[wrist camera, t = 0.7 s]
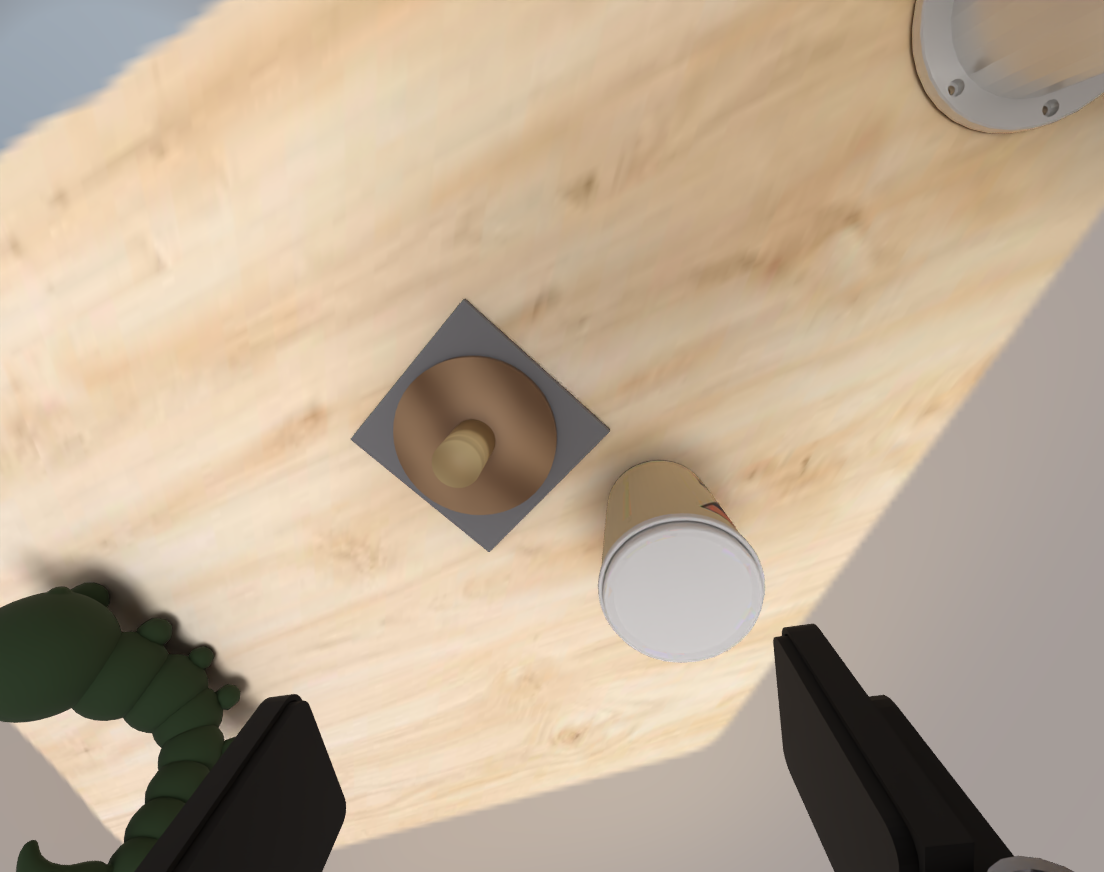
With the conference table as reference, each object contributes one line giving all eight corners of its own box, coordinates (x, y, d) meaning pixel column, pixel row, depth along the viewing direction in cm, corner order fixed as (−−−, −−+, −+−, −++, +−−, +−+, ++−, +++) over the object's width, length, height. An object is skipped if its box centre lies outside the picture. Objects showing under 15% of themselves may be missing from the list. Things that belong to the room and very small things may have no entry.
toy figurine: (296, 674, 50) (50, 515, 44) (155, 912, 33) (-288, 702, 26) (243, 724, 53) (3, 580, 47) (86, 971, 35) (-334, 791, 29)
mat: (465, 298, 37) (463, 299, 36) (609, 429, 39) (609, 431, 38) (353, 436, 40) (350, 439, 40) (490, 548, 43) (489, 552, 42)
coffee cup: (726, 549, 41) (777, 656, 30) (608, 567, 42) (614, 677, 31) (710, 438, 38) (760, 509, 27) (586, 461, 40) (583, 538, 28)
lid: (465, 320, 36) (440, 329, 31) (590, 431, 38) (589, 461, 32) (368, 438, 40) (329, 468, 34) (487, 536, 42) (470, 580, 36)
